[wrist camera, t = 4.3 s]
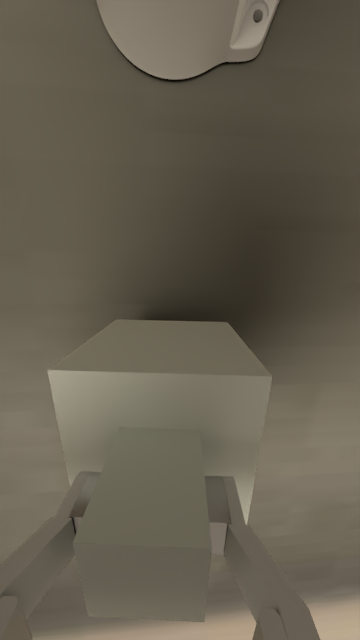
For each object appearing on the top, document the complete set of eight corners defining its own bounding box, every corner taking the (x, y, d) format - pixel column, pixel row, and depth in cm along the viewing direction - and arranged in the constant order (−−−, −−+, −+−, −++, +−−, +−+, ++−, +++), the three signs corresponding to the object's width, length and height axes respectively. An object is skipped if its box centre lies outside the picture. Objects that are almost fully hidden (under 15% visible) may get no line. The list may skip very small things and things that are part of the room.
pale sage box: (116, 319, 17) (-70, 456, 4) (227, 322, 17) (351, 471, 4) (123, 411, 20) (19, 654, 7) (219, 414, 19) (280, 668, 7)
